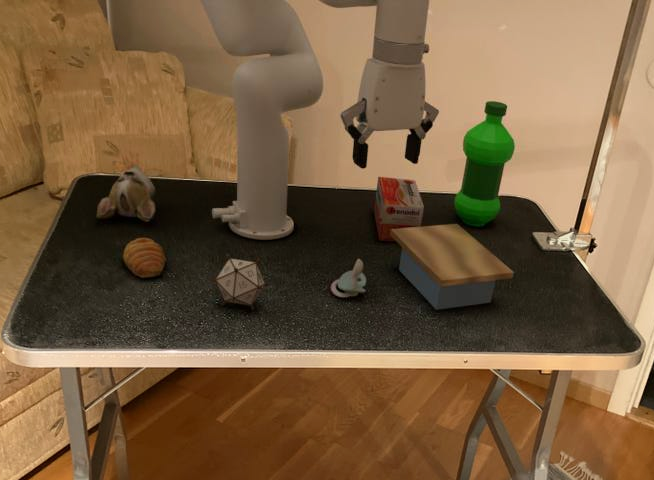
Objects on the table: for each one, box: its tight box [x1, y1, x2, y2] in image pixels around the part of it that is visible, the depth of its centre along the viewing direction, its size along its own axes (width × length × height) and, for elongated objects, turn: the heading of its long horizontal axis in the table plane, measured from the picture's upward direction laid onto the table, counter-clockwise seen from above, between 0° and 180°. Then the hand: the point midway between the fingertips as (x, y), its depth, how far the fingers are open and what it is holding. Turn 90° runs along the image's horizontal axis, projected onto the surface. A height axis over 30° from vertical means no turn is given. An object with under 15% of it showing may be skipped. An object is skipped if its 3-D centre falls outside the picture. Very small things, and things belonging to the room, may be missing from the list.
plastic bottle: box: [453, 100, 516, 227], centre depth 155 cm, size 10×10×25 cm
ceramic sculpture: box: [95, 164, 157, 223], centre depth 143 cm, size 11×9×15 cm
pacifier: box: [330, 258, 367, 299], centre depth 128 cm, size 7×6×6 cm
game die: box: [209, 252, 271, 311], centre depth 120 cm, size 9×8×10 cm
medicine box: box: [373, 176, 425, 243], centre depth 152 cm, size 15×8×8 cm, turn 6°
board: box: [390, 223, 515, 287], centre depth 132 cm, size 14×20×1 cm
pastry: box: [122, 237, 167, 279], centre depth 127 cm, size 9×7×4 cm
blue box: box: [398, 247, 496, 310], centre depth 134 cm, size 11×15×6 cm
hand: (385, 163), depth 121 cm, fingers open, 9 cm apart
